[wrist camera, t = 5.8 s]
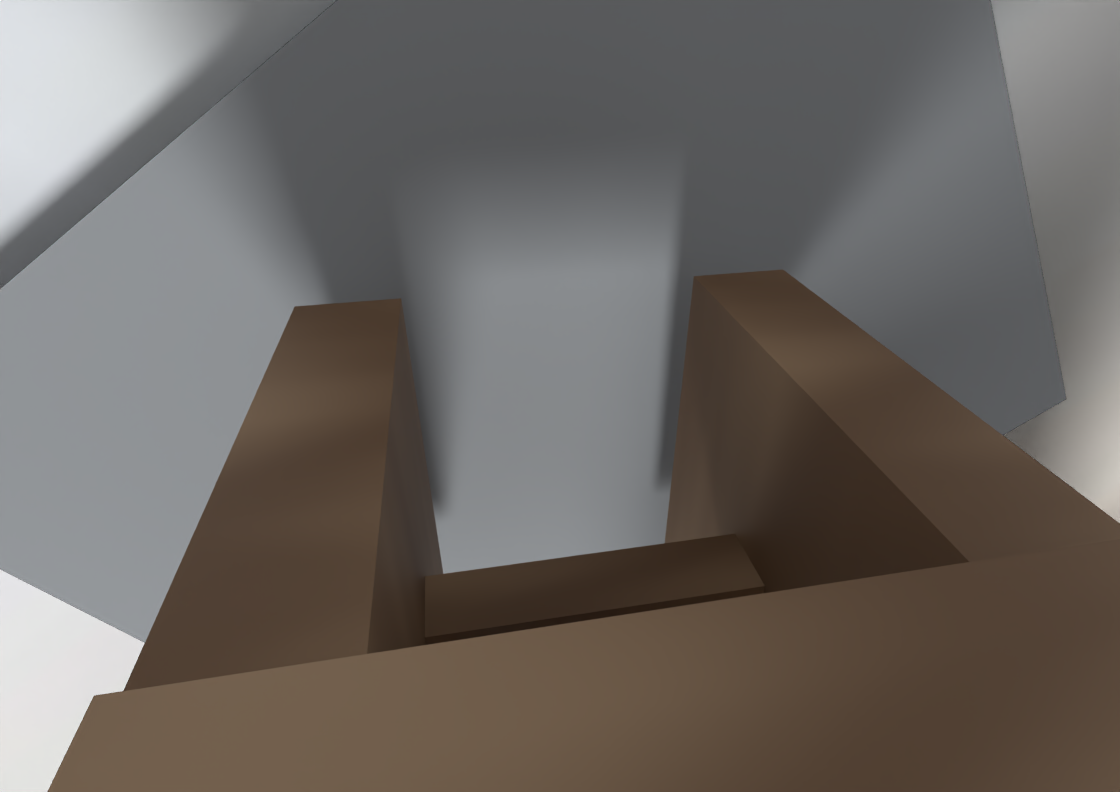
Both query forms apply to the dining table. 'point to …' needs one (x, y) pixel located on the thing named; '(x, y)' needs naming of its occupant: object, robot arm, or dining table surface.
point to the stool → (633, 595)
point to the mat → (515, 259)
